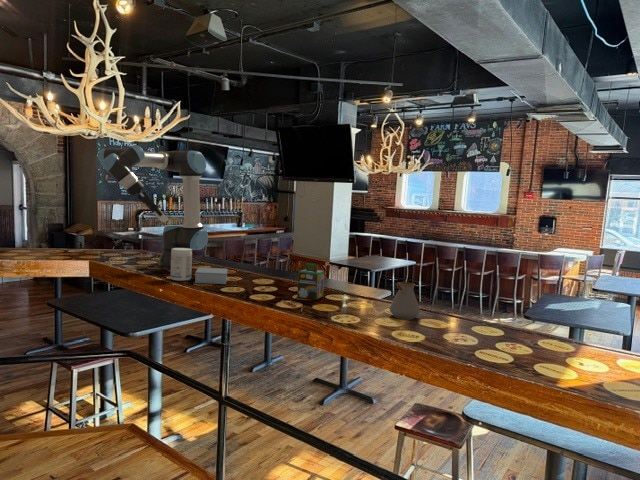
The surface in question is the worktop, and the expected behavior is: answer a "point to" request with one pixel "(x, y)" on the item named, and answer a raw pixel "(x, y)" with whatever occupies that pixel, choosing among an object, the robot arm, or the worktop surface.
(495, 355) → the worktop surface
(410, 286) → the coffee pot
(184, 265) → the supplement tub
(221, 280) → the slate-blue box
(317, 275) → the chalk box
